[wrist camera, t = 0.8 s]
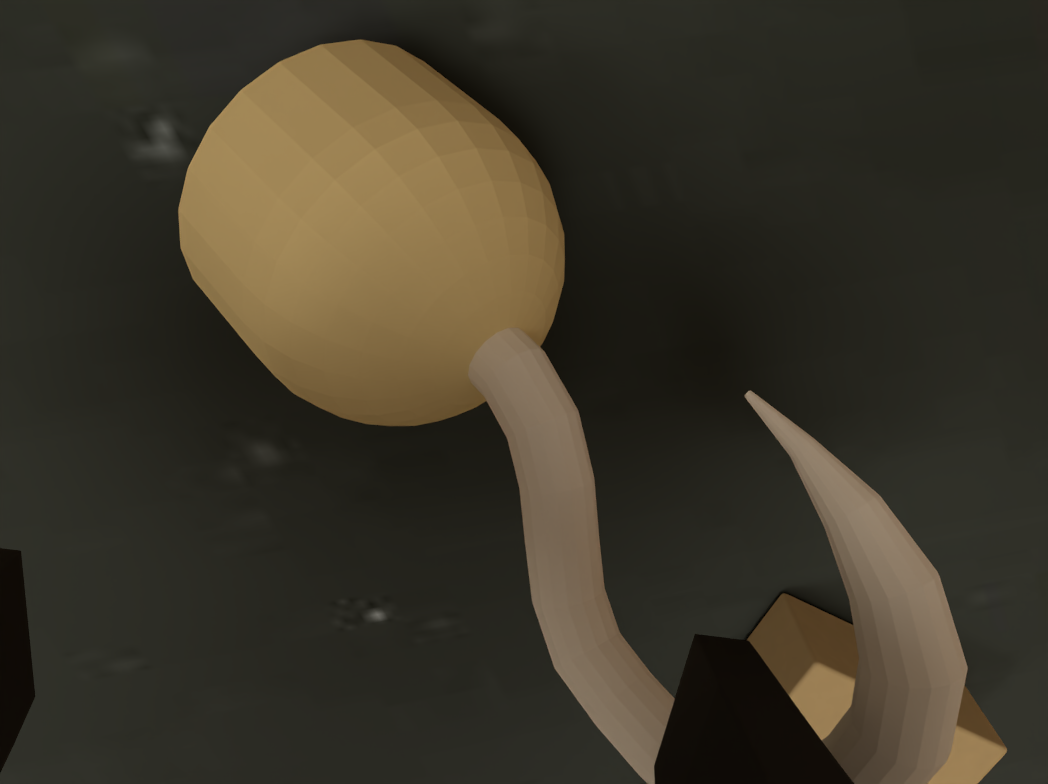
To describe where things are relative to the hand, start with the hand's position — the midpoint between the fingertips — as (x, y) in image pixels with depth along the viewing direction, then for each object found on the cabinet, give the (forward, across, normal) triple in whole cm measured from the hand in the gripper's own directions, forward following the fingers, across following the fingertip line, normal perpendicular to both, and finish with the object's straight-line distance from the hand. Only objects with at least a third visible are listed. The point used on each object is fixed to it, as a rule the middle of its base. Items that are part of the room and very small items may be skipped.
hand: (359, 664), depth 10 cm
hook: (+8, +2, -2) cm, 9 cm away
